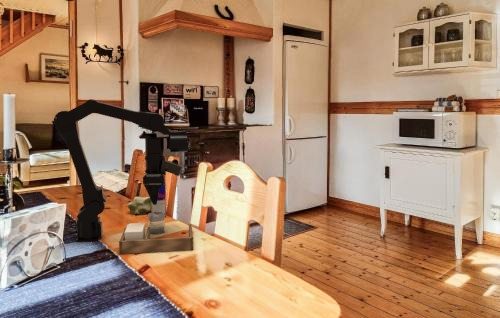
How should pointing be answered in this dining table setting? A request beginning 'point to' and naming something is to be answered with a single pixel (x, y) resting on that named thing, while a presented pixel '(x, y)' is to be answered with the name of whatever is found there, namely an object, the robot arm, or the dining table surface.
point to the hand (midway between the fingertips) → (155, 201)
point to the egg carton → (135, 231)
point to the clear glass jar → (156, 223)
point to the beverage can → (161, 201)
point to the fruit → (140, 205)
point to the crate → (155, 244)
